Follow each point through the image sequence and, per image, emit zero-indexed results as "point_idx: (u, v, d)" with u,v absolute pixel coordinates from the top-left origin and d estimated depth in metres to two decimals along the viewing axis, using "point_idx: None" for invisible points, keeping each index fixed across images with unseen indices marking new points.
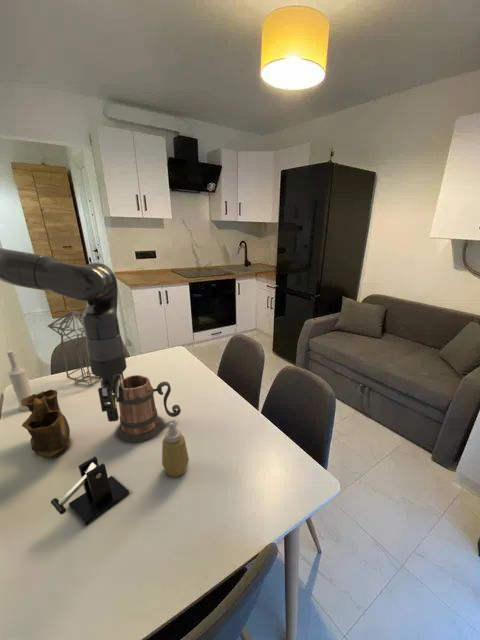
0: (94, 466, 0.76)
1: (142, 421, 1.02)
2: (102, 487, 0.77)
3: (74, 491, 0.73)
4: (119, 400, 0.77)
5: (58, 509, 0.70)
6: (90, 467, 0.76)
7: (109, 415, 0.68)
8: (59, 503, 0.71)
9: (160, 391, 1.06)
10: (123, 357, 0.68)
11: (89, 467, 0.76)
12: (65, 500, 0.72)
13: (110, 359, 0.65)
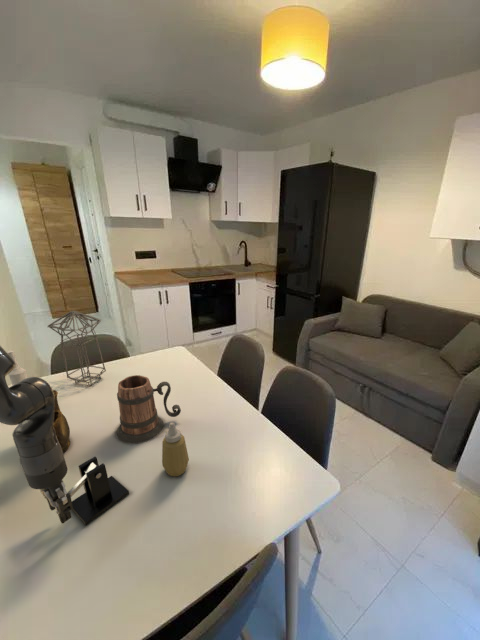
0: (94, 466, 0.76)
1: (142, 421, 1.02)
2: (102, 487, 0.77)
3: (74, 491, 0.73)
4: None
5: None
6: (90, 467, 0.76)
7: (64, 517, 0.69)
8: None
9: (160, 391, 1.06)
10: None
11: (89, 467, 0.76)
12: None
13: (58, 465, 0.65)
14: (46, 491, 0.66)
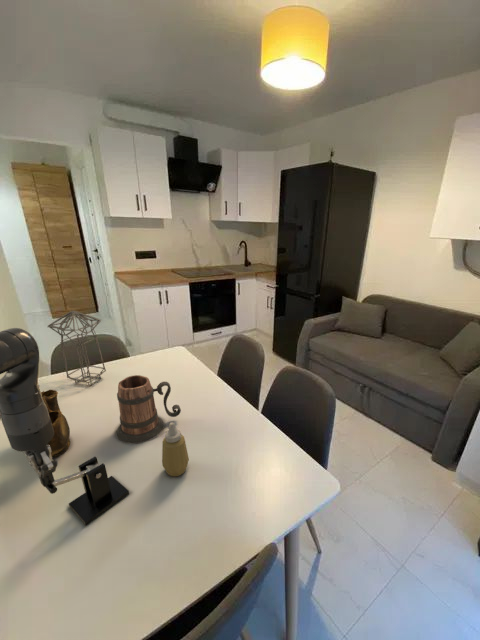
0: None
1: (142, 421, 1.02)
2: (102, 487, 0.77)
3: (69, 479, 0.71)
4: None
5: (50, 486, 0.67)
6: (94, 465, 0.77)
7: (46, 480, 0.66)
8: None
9: (160, 391, 1.06)
10: (50, 420, 0.64)
11: (92, 465, 0.77)
12: (58, 483, 0.69)
13: (43, 426, 0.60)
14: (31, 455, 0.62)
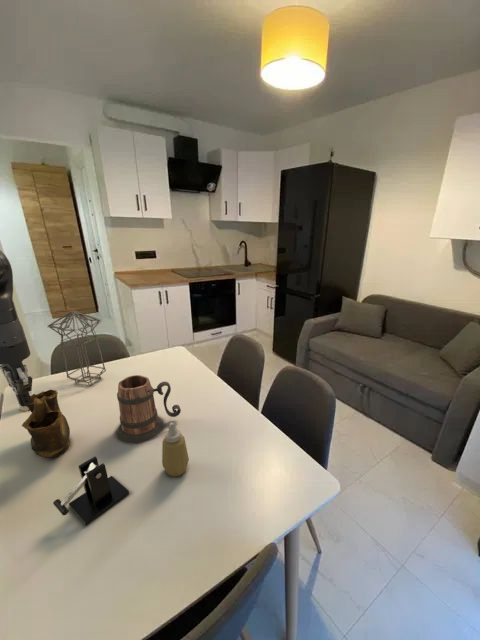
0: (93, 466, 0.76)
1: (142, 421, 1.02)
2: (102, 487, 0.77)
3: (75, 492, 0.73)
4: None
5: (60, 510, 0.70)
6: (90, 467, 0.76)
7: (23, 399, 0.70)
8: (61, 504, 0.72)
9: (160, 391, 1.06)
10: (26, 340, 0.68)
11: (89, 467, 0.76)
12: (67, 501, 0.72)
13: (18, 342, 0.65)
14: (7, 370, 0.66)
